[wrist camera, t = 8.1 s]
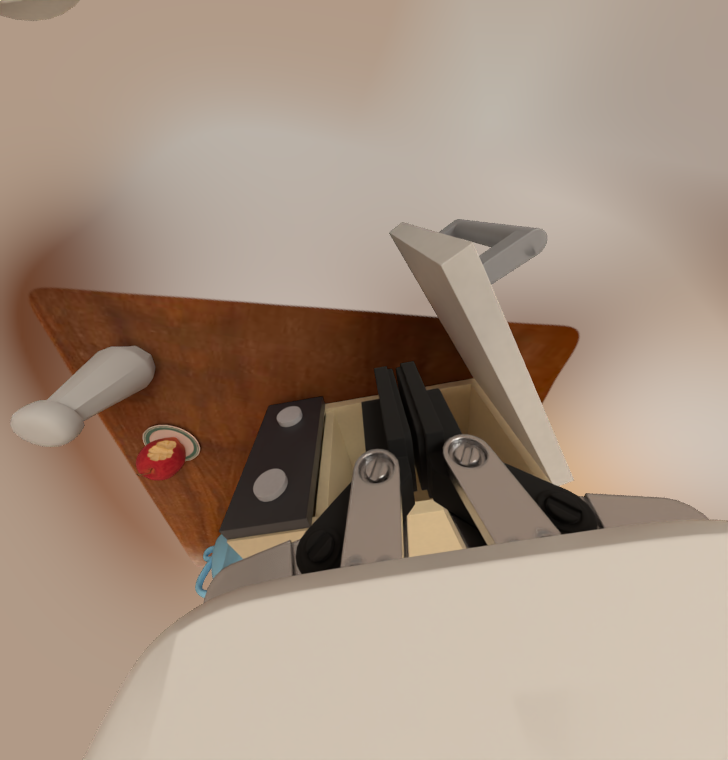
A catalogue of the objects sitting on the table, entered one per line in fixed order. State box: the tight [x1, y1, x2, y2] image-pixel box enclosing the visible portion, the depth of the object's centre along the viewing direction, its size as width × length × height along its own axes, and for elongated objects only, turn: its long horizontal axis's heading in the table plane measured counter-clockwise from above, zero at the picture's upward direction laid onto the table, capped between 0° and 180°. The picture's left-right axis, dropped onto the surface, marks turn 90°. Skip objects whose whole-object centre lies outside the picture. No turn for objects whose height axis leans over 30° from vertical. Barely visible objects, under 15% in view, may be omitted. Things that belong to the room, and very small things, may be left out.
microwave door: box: [389, 219, 574, 486], centre depth 23 cm, size 6×22×18 cm, turn 36°
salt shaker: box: [10, 346, 156, 447], centre depth 28 cm, size 6×6×13 cm
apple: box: [136, 425, 200, 480], centre depth 38 cm, size 8×8×6 cm
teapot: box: [195, 534, 243, 598], centre depth 50 cm, size 16×20×14 cm
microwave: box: [219, 378, 551, 559], centre depth 36 cm, size 24×30×18 cm
